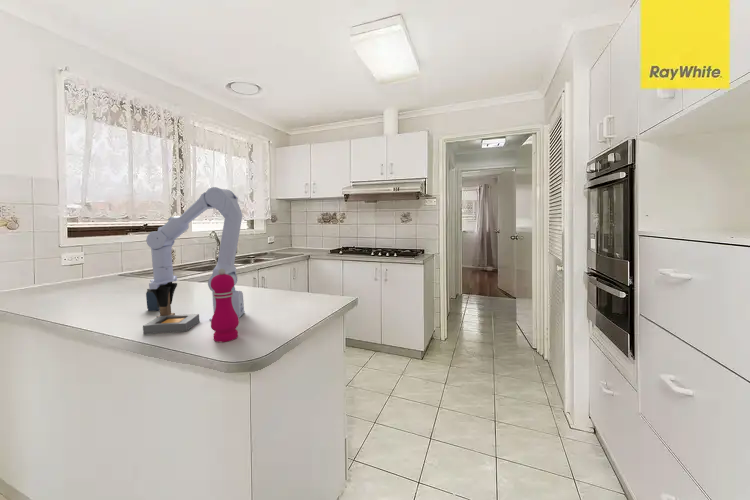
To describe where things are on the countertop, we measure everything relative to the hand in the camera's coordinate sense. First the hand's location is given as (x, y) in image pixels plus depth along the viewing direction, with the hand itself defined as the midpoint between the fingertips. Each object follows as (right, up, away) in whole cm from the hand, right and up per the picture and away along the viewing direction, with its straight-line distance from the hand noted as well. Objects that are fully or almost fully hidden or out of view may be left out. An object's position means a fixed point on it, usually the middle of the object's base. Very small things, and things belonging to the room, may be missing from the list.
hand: (165, 305), depth 112 cm
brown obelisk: (0, -4, 0) cm, 4 cm away
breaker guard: (+8, -5, -10) cm, 14 cm away
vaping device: (-11, -4, +11) cm, 16 cm away
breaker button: (+8, -5, -10) cm, 14 cm away
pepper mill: (+30, -6, -20) cm, 36 cm away
